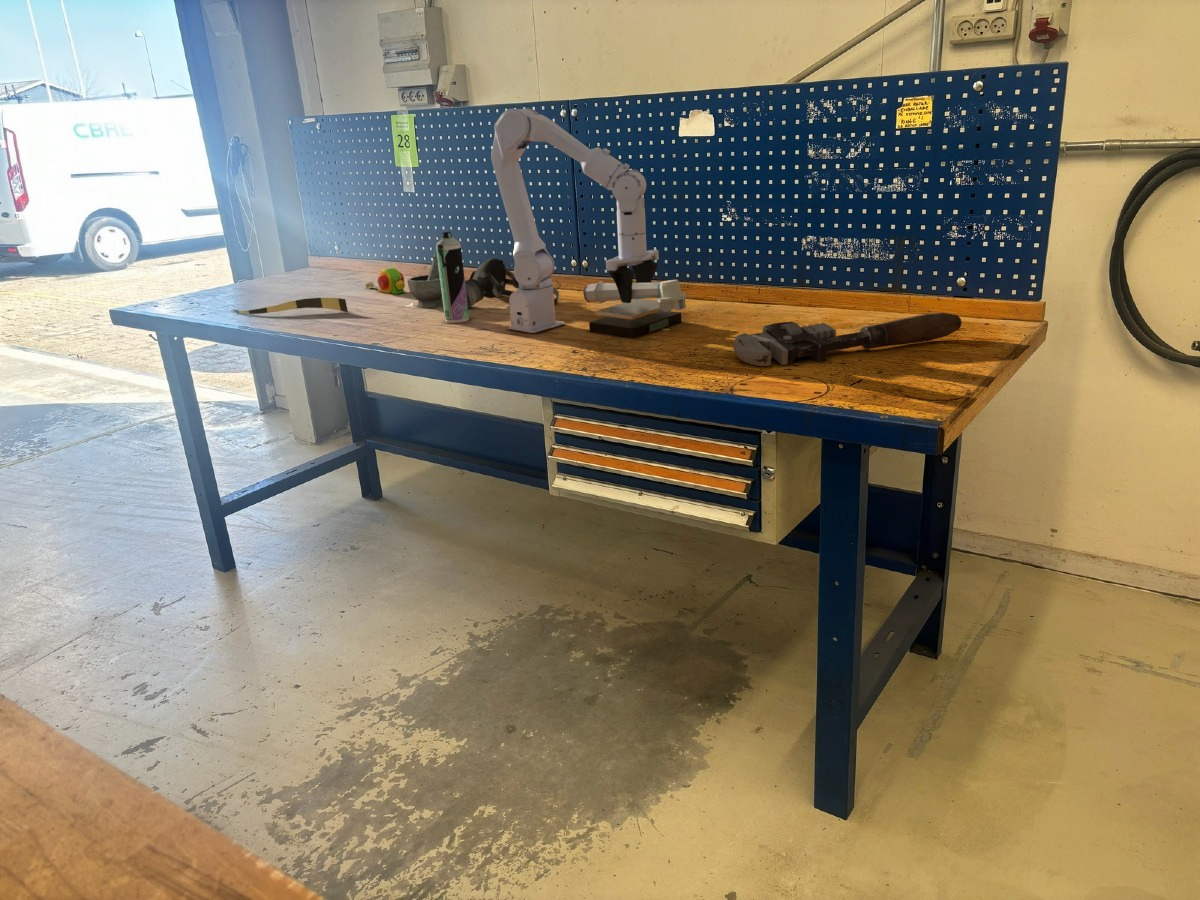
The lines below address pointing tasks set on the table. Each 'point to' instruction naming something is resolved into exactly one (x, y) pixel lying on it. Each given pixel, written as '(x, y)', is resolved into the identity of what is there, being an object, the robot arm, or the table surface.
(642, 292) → the pale grey handled tool
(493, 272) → the respirator mask
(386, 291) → the toy measuring tape
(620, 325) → the scale
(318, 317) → the table surface
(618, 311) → the pan
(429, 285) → the mortar and pestle
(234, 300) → the table surface
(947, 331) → the pipe wrench
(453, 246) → the spray can
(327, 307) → the tape
